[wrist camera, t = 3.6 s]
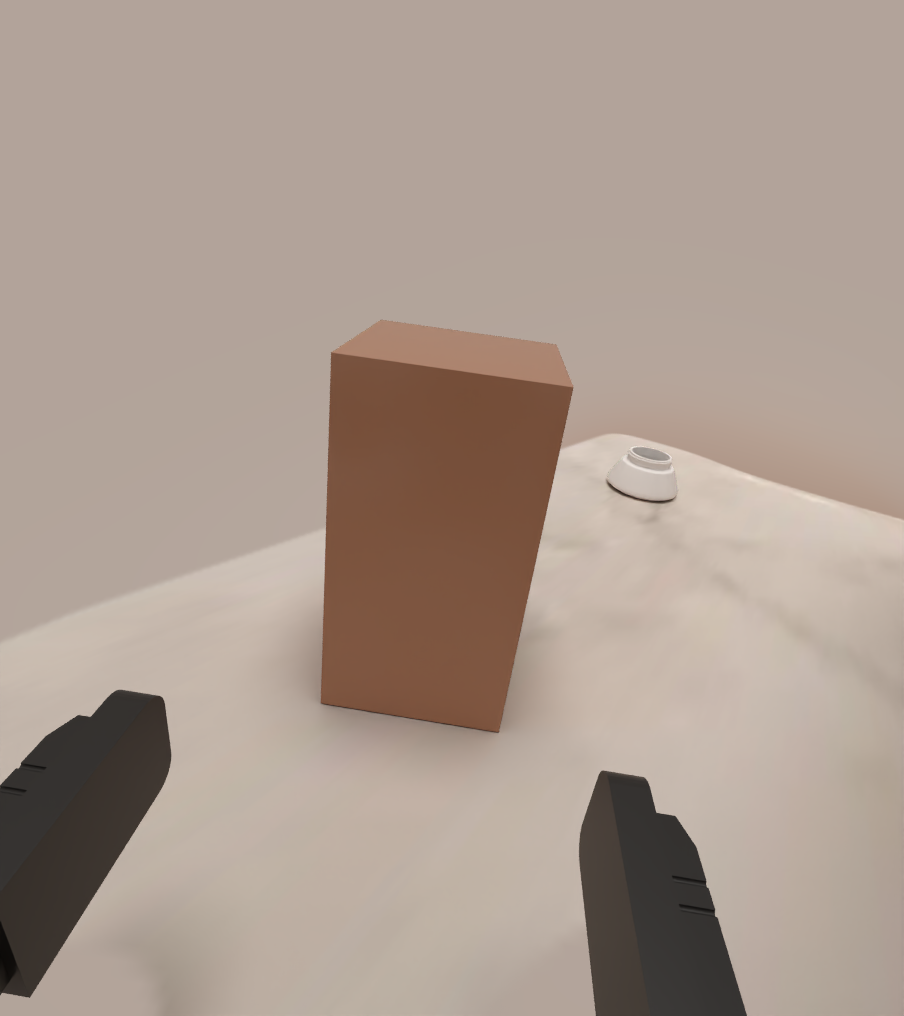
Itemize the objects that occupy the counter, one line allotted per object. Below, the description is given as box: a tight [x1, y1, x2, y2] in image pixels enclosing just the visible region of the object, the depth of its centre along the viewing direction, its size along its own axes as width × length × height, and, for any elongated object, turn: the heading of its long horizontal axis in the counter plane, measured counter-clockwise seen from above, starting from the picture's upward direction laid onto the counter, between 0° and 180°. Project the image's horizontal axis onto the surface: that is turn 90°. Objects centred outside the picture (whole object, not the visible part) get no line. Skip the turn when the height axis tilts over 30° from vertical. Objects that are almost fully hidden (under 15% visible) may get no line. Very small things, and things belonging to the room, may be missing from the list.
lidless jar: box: [607, 446, 678, 501], centre depth 42 cm, size 5×3×5 cm
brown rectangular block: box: [321, 320, 573, 732], centre depth 21 cm, size 6×6×12 cm
